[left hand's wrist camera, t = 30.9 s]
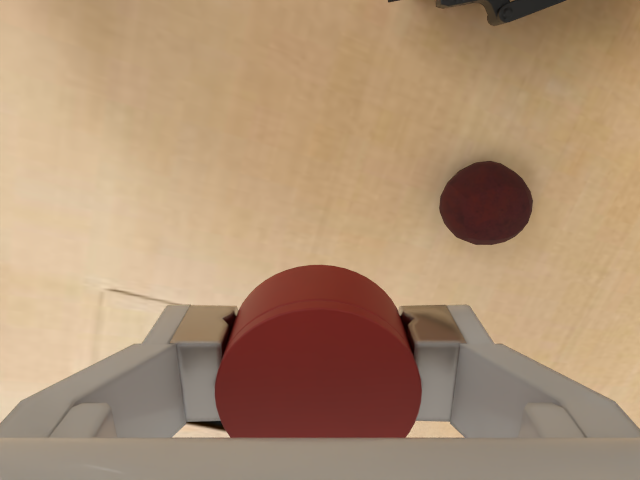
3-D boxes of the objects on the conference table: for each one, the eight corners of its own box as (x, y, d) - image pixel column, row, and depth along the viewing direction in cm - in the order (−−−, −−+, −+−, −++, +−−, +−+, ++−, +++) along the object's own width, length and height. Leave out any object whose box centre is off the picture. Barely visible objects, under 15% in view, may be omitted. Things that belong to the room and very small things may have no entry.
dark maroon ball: (514, 221, 44) (548, 247, 38) (436, 236, 45) (456, 264, 38) (509, 147, 42) (545, 162, 35) (427, 164, 42) (447, 181, 36)
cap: (401, 256, 9) (420, 299, 7) (405, 404, 10) (423, 470, 9) (218, 271, 9) (196, 318, 8) (246, 416, 11) (231, 484, 9)
